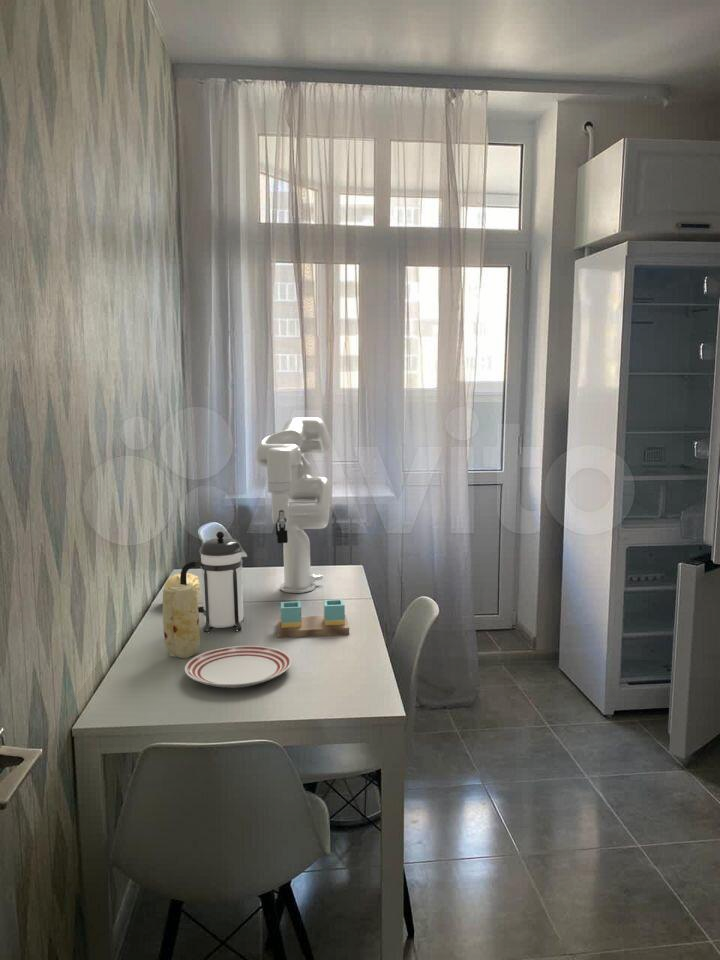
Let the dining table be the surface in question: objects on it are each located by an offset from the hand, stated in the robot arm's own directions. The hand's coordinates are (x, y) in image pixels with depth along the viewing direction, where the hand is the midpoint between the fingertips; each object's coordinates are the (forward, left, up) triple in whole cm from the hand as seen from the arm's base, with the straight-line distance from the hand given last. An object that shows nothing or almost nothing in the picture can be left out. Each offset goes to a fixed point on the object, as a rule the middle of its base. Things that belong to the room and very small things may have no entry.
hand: (281, 538), depth 240 cm
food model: (+41, +16, -25) cm, 50 cm away
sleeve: (-5, +23, -23) cm, 32 cm away
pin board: (+1, +20, -25) cm, 31 cm away
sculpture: (+23, -29, -25) cm, 45 cm away
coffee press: (+23, +1, -25) cm, 34 cm away
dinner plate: (+34, +37, -25) cm, 56 cm away
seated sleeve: (+7, +16, -23) cm, 29 cm away
